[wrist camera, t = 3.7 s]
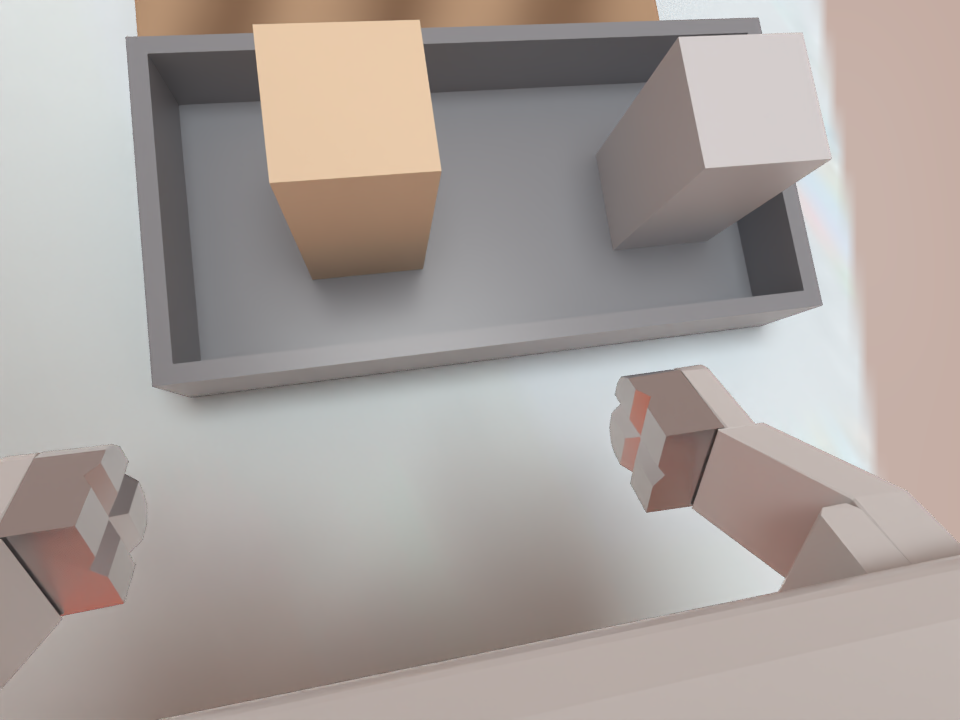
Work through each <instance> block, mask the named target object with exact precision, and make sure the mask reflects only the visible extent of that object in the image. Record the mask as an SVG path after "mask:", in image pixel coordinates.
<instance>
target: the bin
mask: <svg viewBox="0 0 960 720" xmlns="http://www.w3.org/2000/svg"><path fill="white" fill-rule="evenodd" d="M421 33H422V40H423V47H424V53H425V60H426V67H427V74H428V81H429V88H430V95H431V102H432V109H433V116H434V122H435V129H436V136H437V143H438V150H439V157H440V164H441V176H440V182H439V187H438V192H437V197H436V203H435V208H434V213H433V219H432V224H431V229H430V235H429V240H428V245H427V250H426V256H425V261H424V266H423V269H418V270H408V271H398V272H388V273H377V274H367V275H357V276H347V277H336V278H326V279H316V280H312V278H311V275H310V273H309V271H308V269H307V266H306V264H305V262H304V260H303V257H302V255H301V253H300V251H299V248H298V246H297V244H296V242H295V239H294V237H293V235H292V233H291V230H290V228H289V226H288V224H287V222H286V219H285V217H284V215H283V213H282V210H281V208H280V206H279V204H278V201H277V199H276V197H275V195H274V192H273V190H272V188H271V186H270V183H269V175H268V166H267V156H266V147H265V137H264V128H263V119H262V109H261V100H260V90H259V81H258V72H257V62H256V53H255V43H254V34H253V33H237V34H204V35H171V36H138V37H126V49H127V62H128V75H129V88H130V101H131V114H132V127H133V140H134V153H135V166H136V179H137V192H138V205H139V218H140V231H141V244H142V257H143V270H144V283H145V296H146V309H147V322H148V335H149V348H150V361H151V374H152V387H155V388H159V389H162V390H166V391H170V392H173V393H177V394H181V395H185V396H188V397H197V396H205V395H213V394H221V393H229V392H237V391H245V390H253V389H260V388H268V387H276V386H284V385H292V384H300V383H308V382H316V381H324V380H332V379H340V378H348V377H356V376H364V375H372V374H380V373H388V372H396V371H404V370H412V369H420V368H428V367H436V366H444V365H451V364H459V363H467V362H475V361H483V360H491V359H499V358H507V357H515V356H523V355H531V354H539V353H547V352H555V351H563V350H571V349H579V348H587V347H595V346H603V345H611V344H619V343H627V342H635V341H643V340H650V339H658V338H666V337H674V336H682V335H690V334H698V333H706V332H714V331H722V330H730V329H738V328H746V327H754V326H762V325H765V324H768V323H771V322H774V321H777V320H780V319H783V318H786V317H789V316H792V315H795V314H798V313H801V312H804V311H807V310H810V309H813V308H816V307H819V306H822V305H823V304H822V299H821V295H820V291H819V286H818V282H817V277H816V273H815V268H814V264H813V259H812V255H811V250H810V246H809V241H808V237H807V232H806V228H805V223H804V219H803V214H802V210H801V205H800V201H799V196H798V192H797V188H796V183H794V184H793V185H791V186H790V187H788V188H787V189H785V190H784V191H782V192H781V193H779V194H778V195H776V196H775V197H773V198H772V199H770V200H768V201H767V202H765V203H764V204H762V205H761V206H759V207H758V208H756V209H755V210H753V211H752V212H750V213H749V214H747V215H746V216H744V217H743V218H741V219H740V220H738V221H737V222H735V223H734V224H732V225H731V226H729V227H727V228H726V229H724V230H723V231H721V232H720V233H718V234H717V235H715V236H714V237H712V238H711V239H709V240H708V241H704V242H694V243H684V244H673V245H663V246H653V247H643V248H633V249H622V250H613V246H612V241H611V235H610V230H609V224H608V219H607V213H606V208H605V202H604V196H603V191H602V185H601V180H600V174H599V169H598V163H597V158H596V154H597V152H598V151H599V150H600V148H601V147H602V145H603V144H604V142H605V141H606V140H607V138H608V137H609V135H610V134H611V132H612V131H613V130H614V128H615V127H616V125H617V124H618V122H619V121H620V120H621V118H622V117H623V115H624V114H625V112H626V111H627V110H628V108H629V107H630V105H631V104H632V102H633V101H634V100H635V98H636V97H637V95H638V94H639V92H640V91H641V90H642V88H643V87H644V85H645V84H646V82H647V81H648V80H649V78H650V77H651V75H652V74H653V72H654V71H655V70H656V68H657V67H658V65H659V64H660V62H661V61H662V60H663V58H664V57H665V55H666V54H667V52H668V51H669V50H670V48H671V47H672V45H673V44H674V42H675V41H676V40H677V38H678V37H690V36H718V35H746V34H762V31H761V26H760V22H759V18H730V19H697V20H664V21H631V22H599V23H566V24H533V25H500V26H467V27H434V28H421Z"/></svg>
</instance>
